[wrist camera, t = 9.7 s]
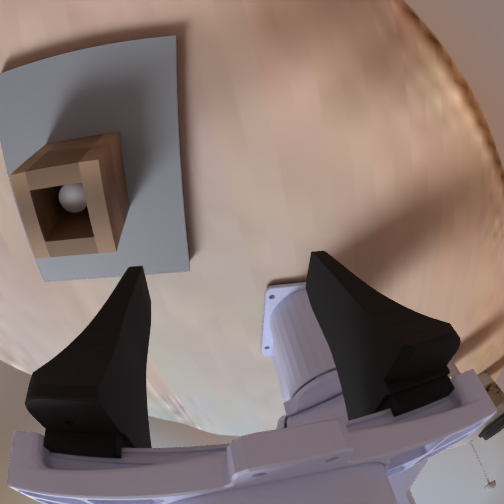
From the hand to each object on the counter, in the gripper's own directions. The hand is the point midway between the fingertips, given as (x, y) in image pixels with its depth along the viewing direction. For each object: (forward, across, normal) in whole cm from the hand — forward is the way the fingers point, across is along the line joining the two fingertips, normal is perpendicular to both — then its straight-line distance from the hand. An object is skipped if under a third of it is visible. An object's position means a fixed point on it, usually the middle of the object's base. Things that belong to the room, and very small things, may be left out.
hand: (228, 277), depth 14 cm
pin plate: (+9, +8, -2) cm, 13 cm away
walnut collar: (+8, +8, -2) cm, 12 cm away
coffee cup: (+10, -58, +49) cm, 77 cm away
